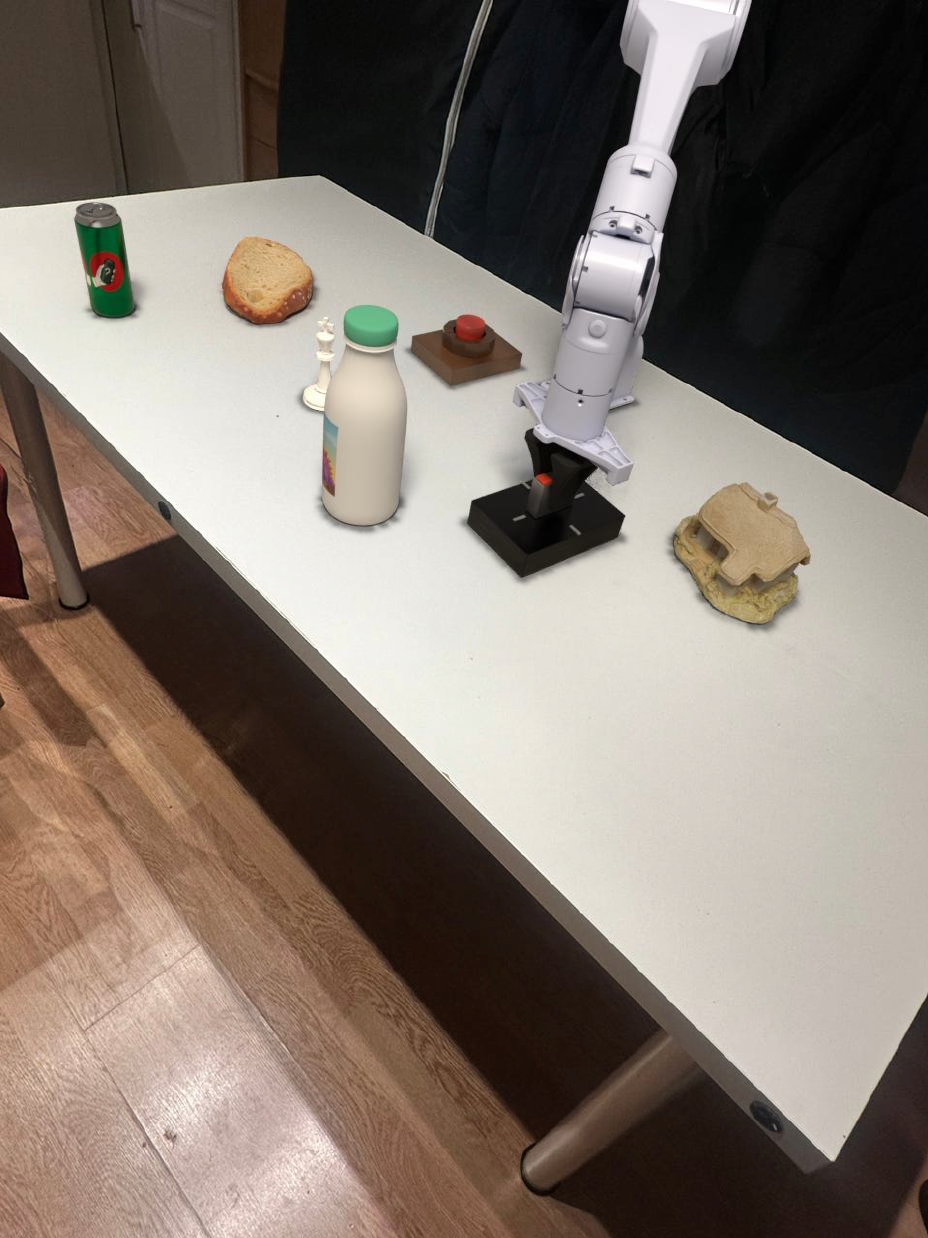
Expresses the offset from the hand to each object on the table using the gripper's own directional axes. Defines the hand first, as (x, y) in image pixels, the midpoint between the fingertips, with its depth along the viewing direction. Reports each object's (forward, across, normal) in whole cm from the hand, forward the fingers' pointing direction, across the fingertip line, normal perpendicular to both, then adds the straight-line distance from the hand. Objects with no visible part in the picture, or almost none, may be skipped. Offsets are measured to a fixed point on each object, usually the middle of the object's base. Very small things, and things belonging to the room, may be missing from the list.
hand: (551, 501), depth 81 cm
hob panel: (+4, 0, 0) cm, 4 cm away
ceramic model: (+4, +14, +14) cm, 20 cm away
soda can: (+4, -58, -22) cm, 62 cm away
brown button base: (+4, -31, +12) cm, 34 cm away
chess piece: (+4, -30, -8) cm, 31 cm away
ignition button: (0, -31, +13) cm, 33 cm away
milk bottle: (+4, -12, -14) cm, 19 cm away
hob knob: (+1, 0, 0) cm, 1 cm away
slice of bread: (+4, -58, -2) cm, 58 cm away
